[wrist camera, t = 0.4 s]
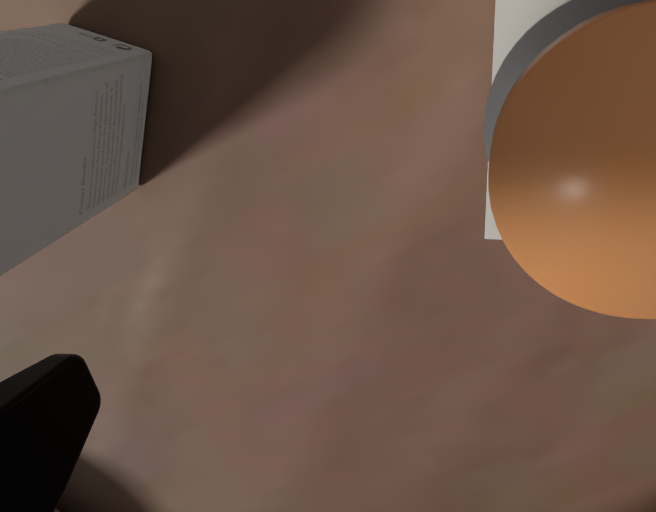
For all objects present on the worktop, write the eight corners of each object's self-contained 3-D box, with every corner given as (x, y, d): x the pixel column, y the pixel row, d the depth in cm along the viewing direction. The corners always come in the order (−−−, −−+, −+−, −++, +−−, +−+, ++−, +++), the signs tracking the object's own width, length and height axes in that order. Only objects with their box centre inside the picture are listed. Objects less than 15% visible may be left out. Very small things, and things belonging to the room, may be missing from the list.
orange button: (762, 247, 12) (828, 316, 10) (499, 259, 14) (497, 321, 12) (791, -29, 11) (881, -32, 8) (483, 22, 12) (477, 32, 10)
